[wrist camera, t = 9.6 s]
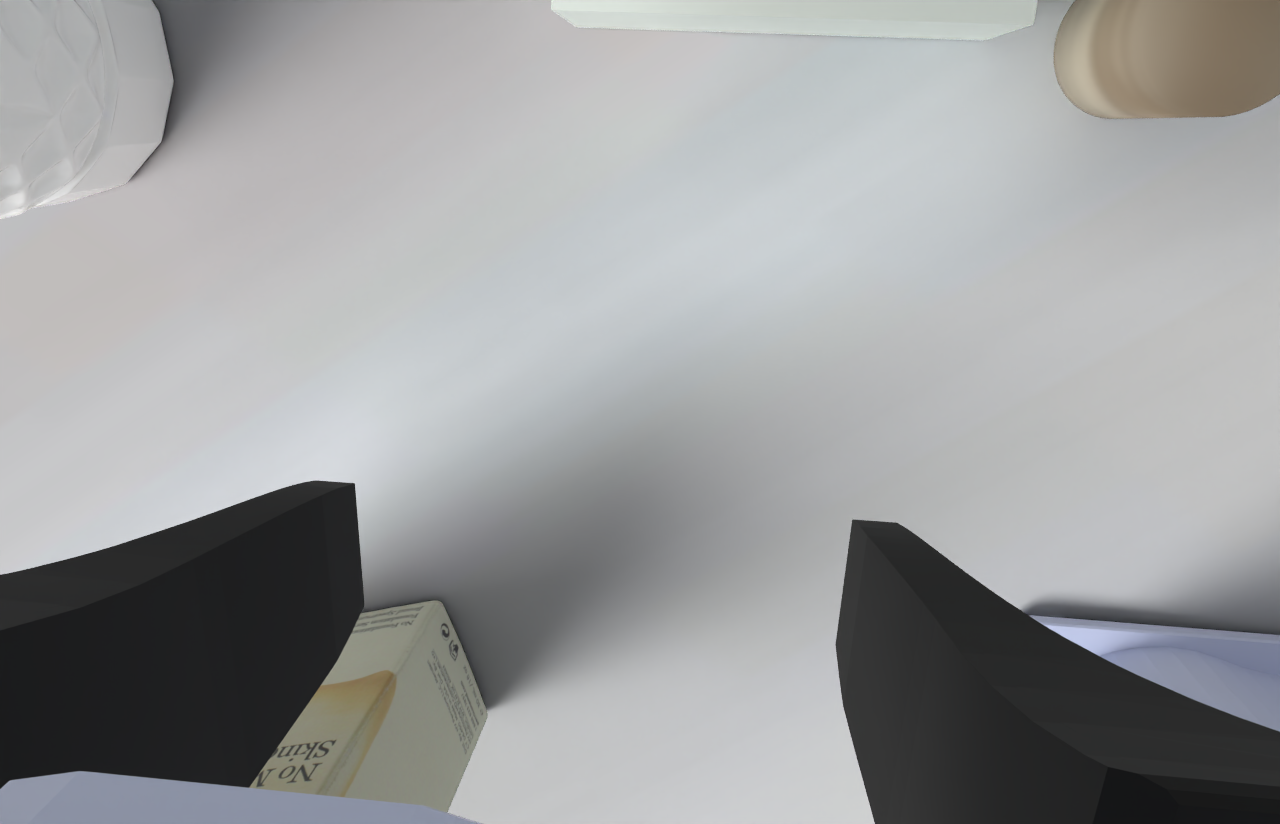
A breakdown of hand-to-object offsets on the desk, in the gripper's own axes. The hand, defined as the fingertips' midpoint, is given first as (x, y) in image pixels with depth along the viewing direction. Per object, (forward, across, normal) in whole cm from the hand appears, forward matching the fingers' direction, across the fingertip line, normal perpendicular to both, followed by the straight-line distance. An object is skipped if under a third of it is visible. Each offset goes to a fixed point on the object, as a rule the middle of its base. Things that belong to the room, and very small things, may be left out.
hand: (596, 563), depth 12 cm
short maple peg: (+10, -10, -8) cm, 16 cm away
